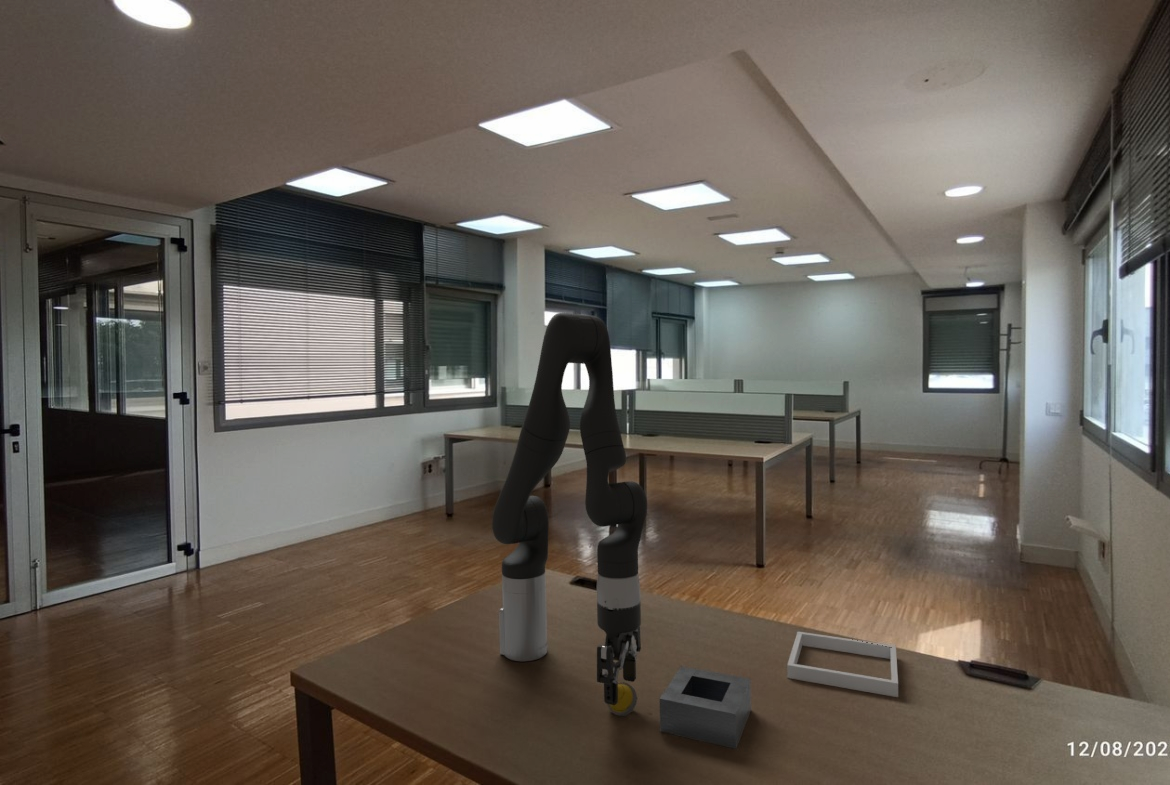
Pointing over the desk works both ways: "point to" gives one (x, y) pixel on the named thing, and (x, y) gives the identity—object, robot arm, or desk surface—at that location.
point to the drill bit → (624, 700)
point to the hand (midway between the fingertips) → (620, 691)
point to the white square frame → (843, 678)
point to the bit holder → (706, 706)
